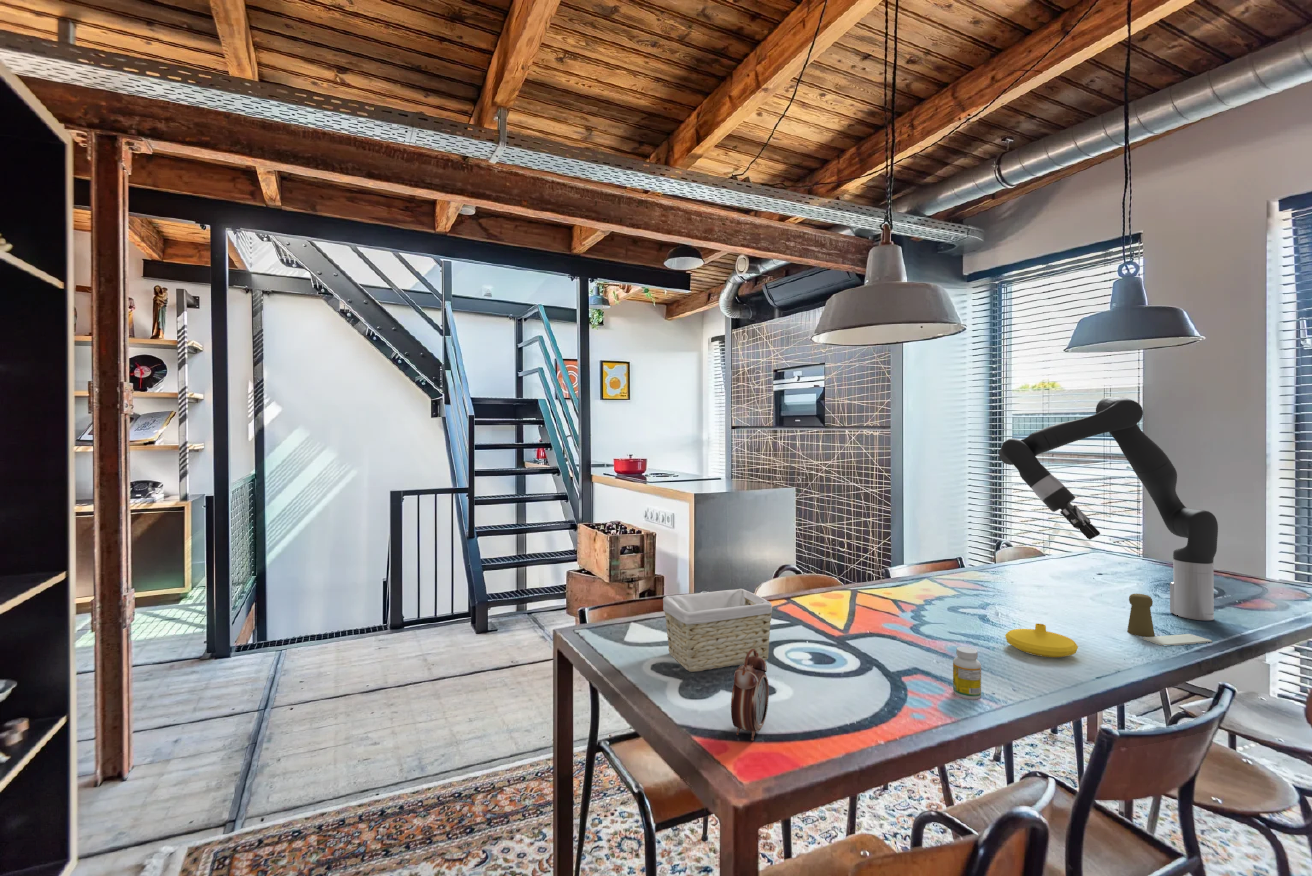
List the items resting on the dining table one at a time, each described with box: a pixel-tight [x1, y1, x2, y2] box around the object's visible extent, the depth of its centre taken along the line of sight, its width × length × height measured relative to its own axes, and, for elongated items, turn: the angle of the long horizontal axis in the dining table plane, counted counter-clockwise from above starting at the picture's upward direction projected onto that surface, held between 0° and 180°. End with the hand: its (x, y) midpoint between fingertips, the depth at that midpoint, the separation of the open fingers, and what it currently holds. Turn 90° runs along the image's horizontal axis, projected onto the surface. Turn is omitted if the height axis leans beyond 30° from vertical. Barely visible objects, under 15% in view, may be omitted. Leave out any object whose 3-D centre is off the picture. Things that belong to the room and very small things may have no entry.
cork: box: [1127, 593, 1156, 638], centre depth 167 cm, size 6×6×11 cm
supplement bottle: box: [952, 646, 982, 701], centre depth 126 cm, size 5×5×10 cm
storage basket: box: [662, 588, 773, 673], centre depth 148 cm, size 24×16×15 cm
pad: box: [1142, 633, 1213, 646], centre depth 160 cm, size 6×16×1 cm, turn 101°
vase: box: [1004, 623, 1079, 658], centre depth 152 cm, size 16×16×7 cm
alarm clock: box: [730, 649, 770, 742], centre depth 110 cm, size 11×5×15 cm, turn 155°
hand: (1095, 536), depth 173 cm, fingers open, 8 cm apart
